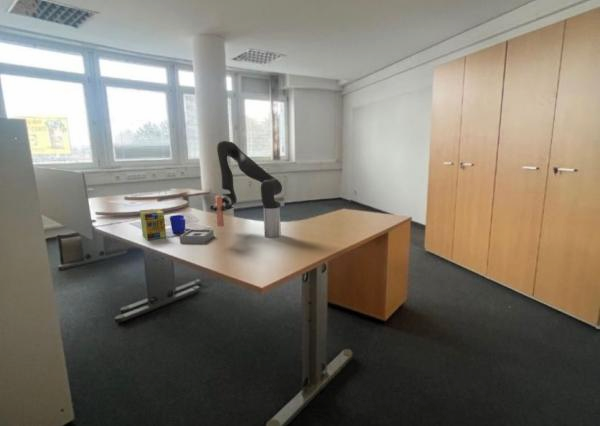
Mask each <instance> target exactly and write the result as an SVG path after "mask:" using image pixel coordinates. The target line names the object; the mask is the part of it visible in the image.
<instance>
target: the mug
mask: <svg viewBox="0 0 600 426" xmlns="http://www.w3.org/2000/svg"><path fill="white" fill-rule="evenodd" d="M184 217H185V216H184V215H181V214H177V215H176V214H175V215H170V216H169V220H170V221H169V222H170V226H171V227H170V228H171V231H172V233H175V234H177V233H183V232H184V231H185V229H186V219H185V218H184Z"/></svg>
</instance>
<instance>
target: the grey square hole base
mask: <svg viewBox="0 0 600 426" xmlns="http://www.w3.org/2000/svg"><path fill="white" fill-rule="evenodd" d="M214 237H215V234H214V229H189V230H188V231H185V232H184V233H182V234H180V235H179V242H180V244H205V243H207V242H208V241H210V240H211V239H212V238H214Z"/></svg>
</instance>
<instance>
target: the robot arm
mask: <svg viewBox="0 0 600 426" xmlns="http://www.w3.org/2000/svg"><path fill="white" fill-rule="evenodd" d="M216 150H217V152H216V153H217V155H218V156H217V157H218V162H219V167H220V171H221V172H220V173H221V188H222V190H226V191H229V193H221V194H220V195H219V196H222V207H221V210H222V211H223V212H226V211H228V210H233V209H234V207H235V206H234V205H235V204H236V203H237V201H238V200H237V195H236V193H235V192H236V191H235V187H234V175H233V172H232V170H231V168H230V165H229V161H228V158H229V157H230V158H231V159H233V160H234V161H235V162H236V163H237V164H238V165H237V166H238V168H239V170H240V171H241V172H242V173H243V174H244V175H245V176H247V177H248V178H250V179H253V180H255V181H257V182H260V183H261V185H260V195H261V203H262V205H263V228H264V229H263V231H264V237H265V238H268V239H275V238H280V237H281V235H282V229H281V228H282V227H281V226H282V224H281V218H280V217H281V216H280V215H281V214H280V213H281V211H280V210H281V209H280V202H279V201H277V200H276V199H275V196H276V195H279V194H281V193H282V191H283V186H282V183H281V182H280V180H278V179H277V178H276V177H274V176H272V175H271V174H269V173H268V172H267V171H266V170H265V169H264V168H262V166H260V165H258V163H256V161H254V160H253V159H251V157H249V156H248V155H247V154H246V153H244V151H242V150H241V149H240V148H239V147H238V145H236V143H235V142H232V141H229V140H220V141H219V142H218V143H217V147H216ZM208 205H209V206H208V207H209V209H210V210H211V211H214V212H217V210H216V203H214V204H213V203H209V204H208Z"/></svg>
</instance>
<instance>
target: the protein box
mask: <svg viewBox="0 0 600 426" xmlns="http://www.w3.org/2000/svg"><path fill="white" fill-rule="evenodd" d="M139 215H140V223H141V232H142V236H143V238H145V239H146V240H147V241H154V240H159V239H166V238H167V230H166V221H165V220H166V219H165V212H164V211H162V210H161V209H159V208H151V209H143V210H141V209H140V210H139Z"/></svg>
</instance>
